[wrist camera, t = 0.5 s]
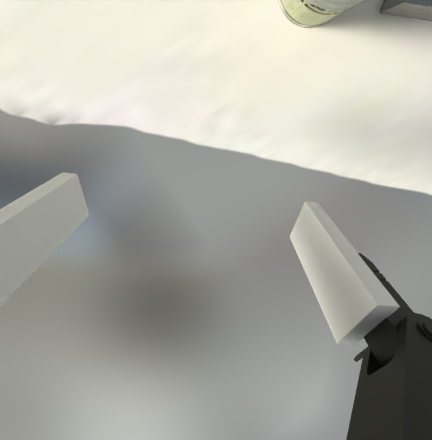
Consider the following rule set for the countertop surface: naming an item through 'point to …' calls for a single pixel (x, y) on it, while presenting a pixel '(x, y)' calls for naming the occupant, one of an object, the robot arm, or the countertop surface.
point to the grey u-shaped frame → (408, 8)
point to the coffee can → (314, 10)
